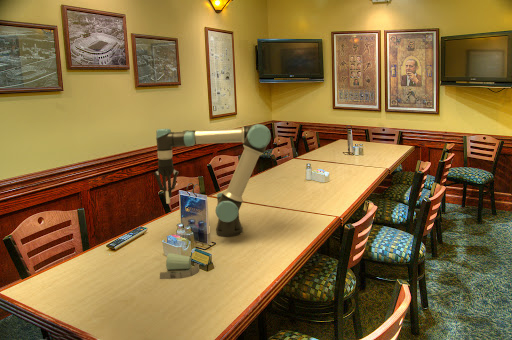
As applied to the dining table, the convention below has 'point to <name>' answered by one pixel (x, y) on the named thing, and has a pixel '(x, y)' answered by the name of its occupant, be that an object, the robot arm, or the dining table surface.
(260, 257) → the dining table surface
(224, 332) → the dining table surface
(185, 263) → the cup
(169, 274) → the split ring
